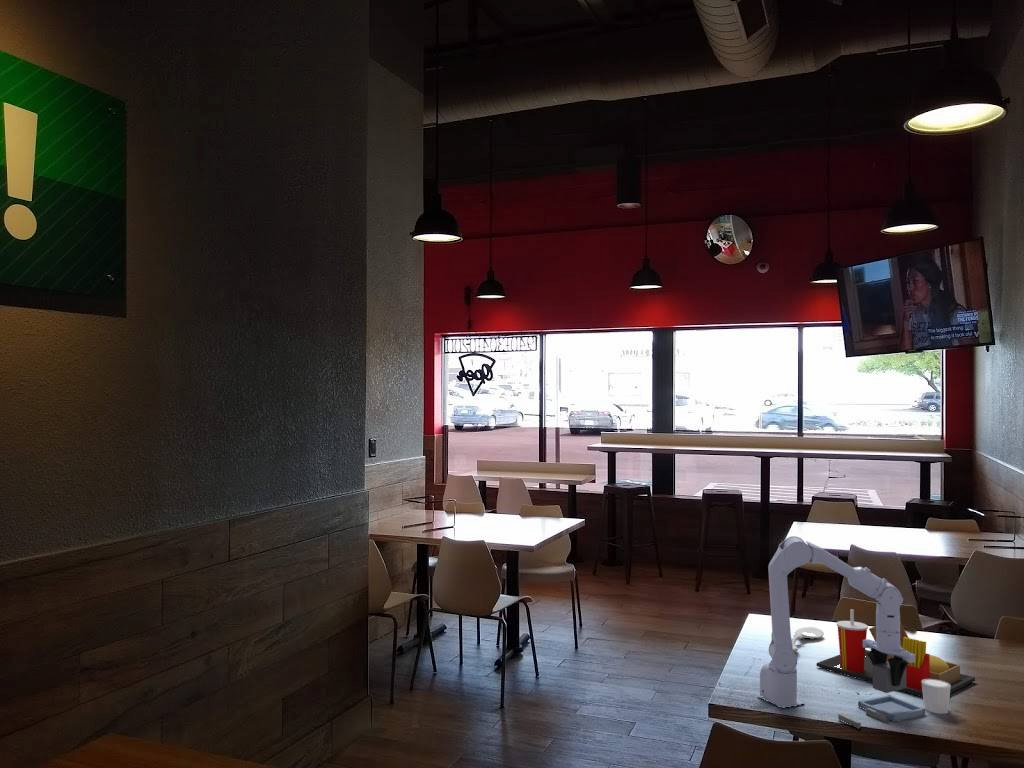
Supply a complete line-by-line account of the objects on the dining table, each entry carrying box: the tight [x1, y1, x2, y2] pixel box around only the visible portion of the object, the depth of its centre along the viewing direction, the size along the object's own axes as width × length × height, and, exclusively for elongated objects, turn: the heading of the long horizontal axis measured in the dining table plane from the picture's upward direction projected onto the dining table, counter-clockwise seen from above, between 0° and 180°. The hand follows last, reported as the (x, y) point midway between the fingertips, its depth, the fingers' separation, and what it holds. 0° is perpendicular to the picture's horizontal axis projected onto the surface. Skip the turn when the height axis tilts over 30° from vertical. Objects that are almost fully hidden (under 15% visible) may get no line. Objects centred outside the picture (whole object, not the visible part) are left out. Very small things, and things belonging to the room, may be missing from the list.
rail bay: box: [837, 708, 890, 730], centre depth 198 cm, size 6×11×2 cm, turn 115°
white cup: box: [922, 679, 951, 715], centre depth 206 cm, size 7×7×7 cm
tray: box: [857, 694, 926, 723], centre depth 205 cm, size 11×12×2 cm
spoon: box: [791, 626, 824, 653], centre depth 263 cm, size 9×32×4 cm, turn 141°
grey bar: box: [872, 662, 906, 694], centre depth 205 cm, size 4×8×6 cm, turn 118°
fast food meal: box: [816, 609, 976, 698], centre depth 233 cm, size 25×35×18 cm
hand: (888, 682), depth 205 cm, fingers closed on grey bar, 4 cm apart
